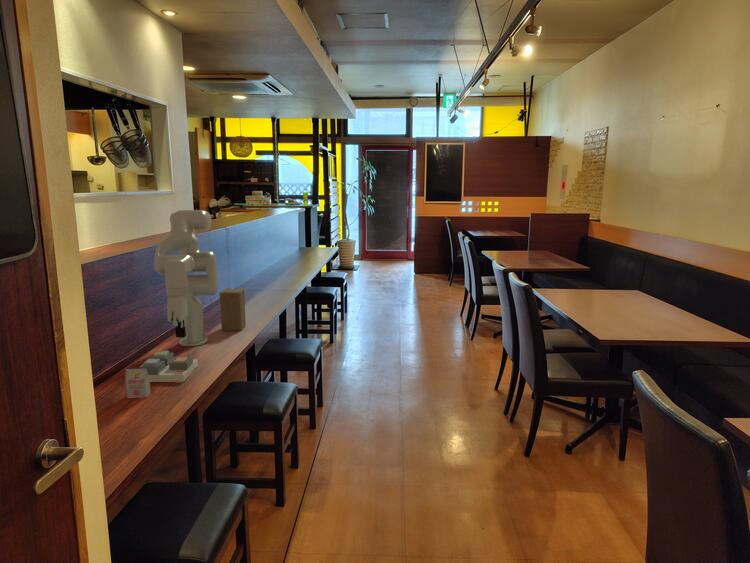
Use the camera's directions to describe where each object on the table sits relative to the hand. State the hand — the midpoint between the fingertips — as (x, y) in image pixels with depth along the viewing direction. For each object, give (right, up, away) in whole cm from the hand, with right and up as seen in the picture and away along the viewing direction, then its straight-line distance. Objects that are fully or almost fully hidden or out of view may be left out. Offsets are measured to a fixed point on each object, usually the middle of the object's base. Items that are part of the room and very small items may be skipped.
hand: (181, 336), depth 185 cm
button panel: (-4, -14, -1) cm, 15 cm away
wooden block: (+3, -3, +59) cm, 59 cm away
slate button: (-8, -10, -7) cm, 15 cm away
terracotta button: (+1, -11, -2) cm, 11 cm away
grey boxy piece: (-6, -18, -20) cm, 28 cm away
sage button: (-8, -9, +2) cm, 12 cm away
